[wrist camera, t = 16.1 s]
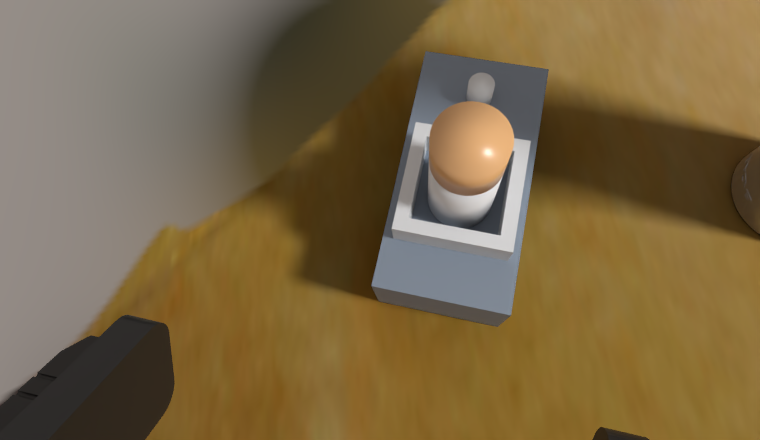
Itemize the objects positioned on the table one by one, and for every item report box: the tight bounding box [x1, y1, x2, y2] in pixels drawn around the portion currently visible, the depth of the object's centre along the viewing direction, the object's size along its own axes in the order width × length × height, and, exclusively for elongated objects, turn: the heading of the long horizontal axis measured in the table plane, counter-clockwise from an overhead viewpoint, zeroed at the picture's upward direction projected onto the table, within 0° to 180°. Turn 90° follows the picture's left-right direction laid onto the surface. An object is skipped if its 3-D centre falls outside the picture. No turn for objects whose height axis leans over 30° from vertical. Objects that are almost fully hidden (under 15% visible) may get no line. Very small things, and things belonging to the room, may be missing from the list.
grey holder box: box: [372, 51, 549, 327], centre depth 43 cm, size 10×20×10 cm, turn 167°
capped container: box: [428, 101, 514, 228], centre depth 35 cm, size 5×5×10 cm
